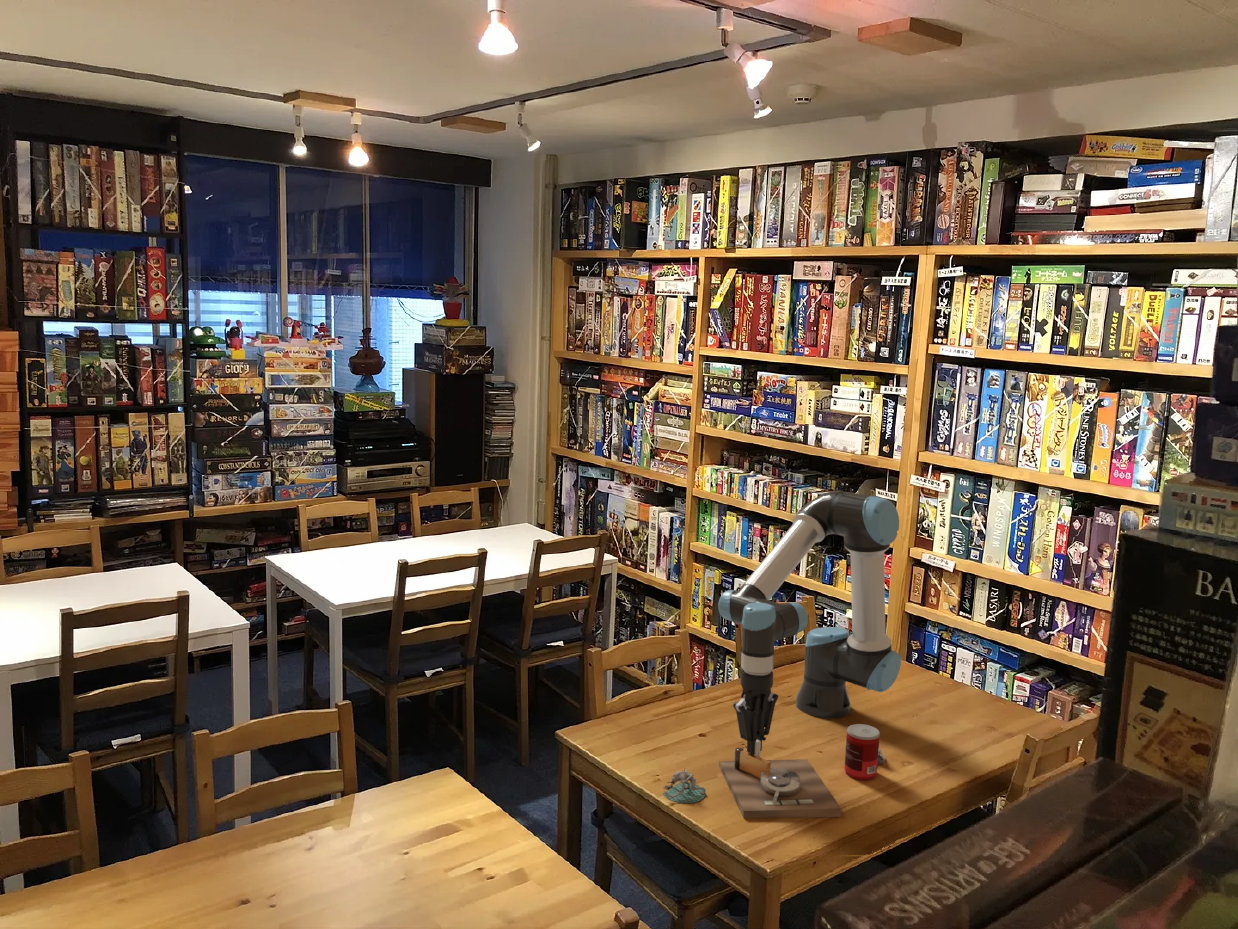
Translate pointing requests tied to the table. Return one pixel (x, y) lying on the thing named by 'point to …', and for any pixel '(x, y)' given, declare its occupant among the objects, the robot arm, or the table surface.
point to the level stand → (759, 803)
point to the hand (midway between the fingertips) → (753, 765)
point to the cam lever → (768, 775)
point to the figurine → (684, 789)
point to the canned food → (862, 751)
